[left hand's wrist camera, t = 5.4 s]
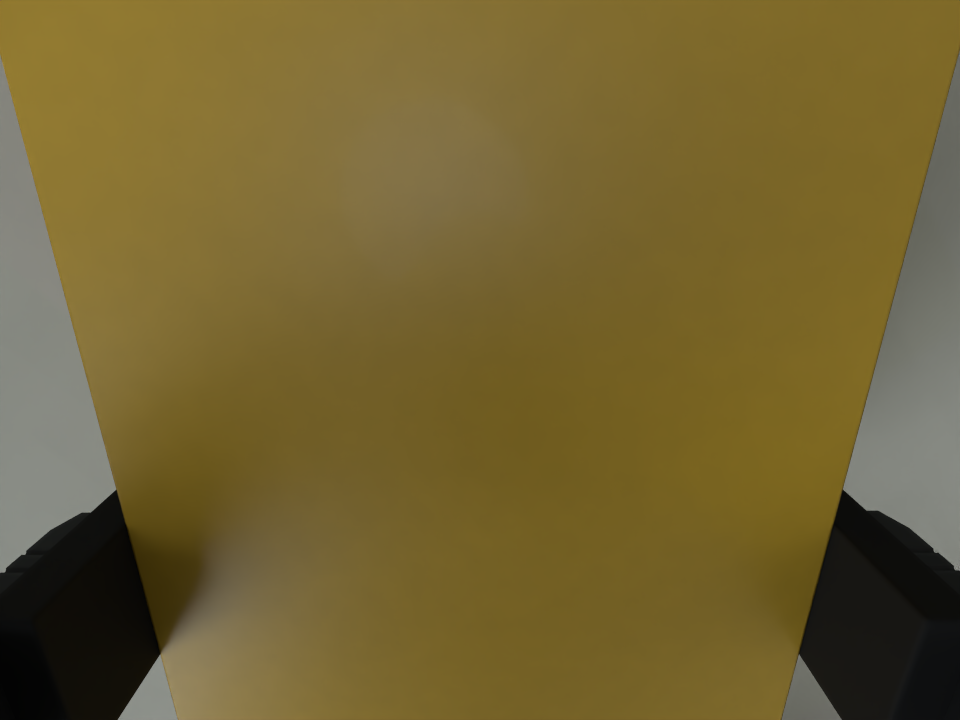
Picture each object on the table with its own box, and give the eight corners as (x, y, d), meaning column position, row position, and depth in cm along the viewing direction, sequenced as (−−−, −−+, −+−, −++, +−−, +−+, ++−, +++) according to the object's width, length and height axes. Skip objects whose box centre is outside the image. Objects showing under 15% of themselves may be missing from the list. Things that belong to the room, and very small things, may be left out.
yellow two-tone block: (225, -210, 12) (-274, -946, 4) (733, -210, 12) (1230, -946, 4) (316, 525, 18) (194, 794, 11) (642, 526, 18) (763, 794, 11)
